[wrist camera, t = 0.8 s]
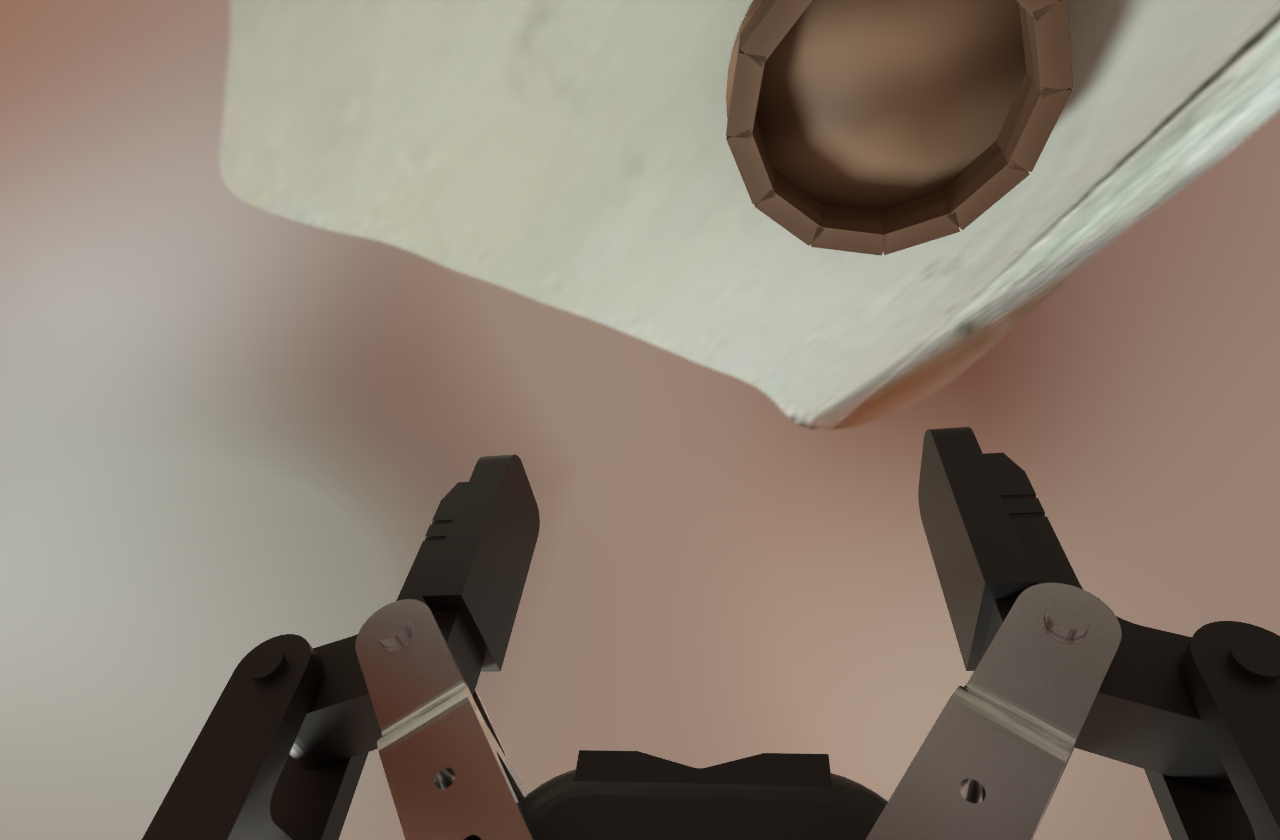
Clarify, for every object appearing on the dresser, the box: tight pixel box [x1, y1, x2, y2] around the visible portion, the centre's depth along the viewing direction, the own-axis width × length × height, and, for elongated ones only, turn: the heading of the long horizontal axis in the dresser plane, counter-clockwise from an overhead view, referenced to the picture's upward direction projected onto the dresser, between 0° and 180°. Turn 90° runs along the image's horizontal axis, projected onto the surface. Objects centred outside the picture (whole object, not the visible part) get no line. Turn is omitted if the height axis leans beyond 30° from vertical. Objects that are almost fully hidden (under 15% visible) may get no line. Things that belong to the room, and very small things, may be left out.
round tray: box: [726, 0, 1073, 255], centre depth 33 cm, size 15×15×3 cm
